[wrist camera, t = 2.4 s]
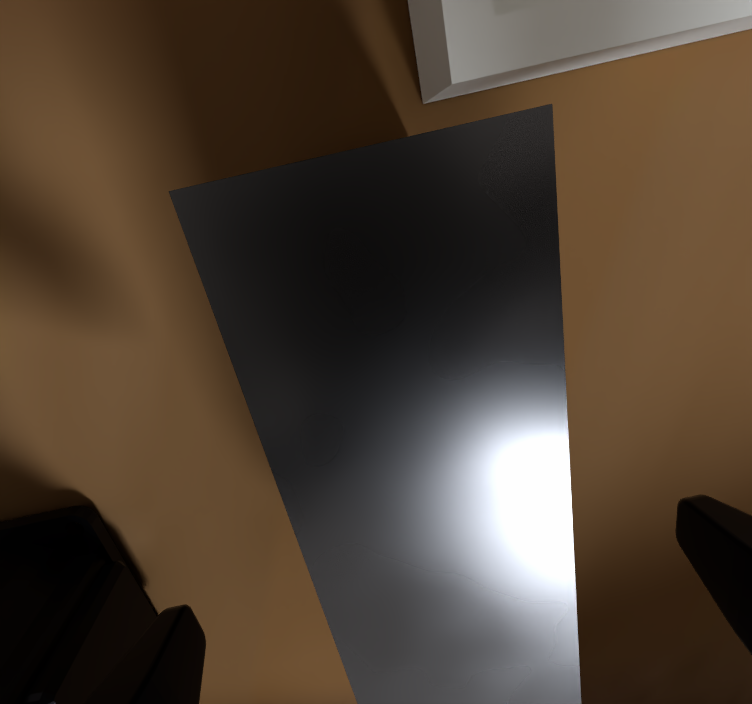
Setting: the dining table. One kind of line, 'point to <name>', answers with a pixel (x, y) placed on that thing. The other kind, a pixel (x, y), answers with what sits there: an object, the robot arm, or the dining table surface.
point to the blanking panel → (412, 399)
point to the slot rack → (551, 36)
